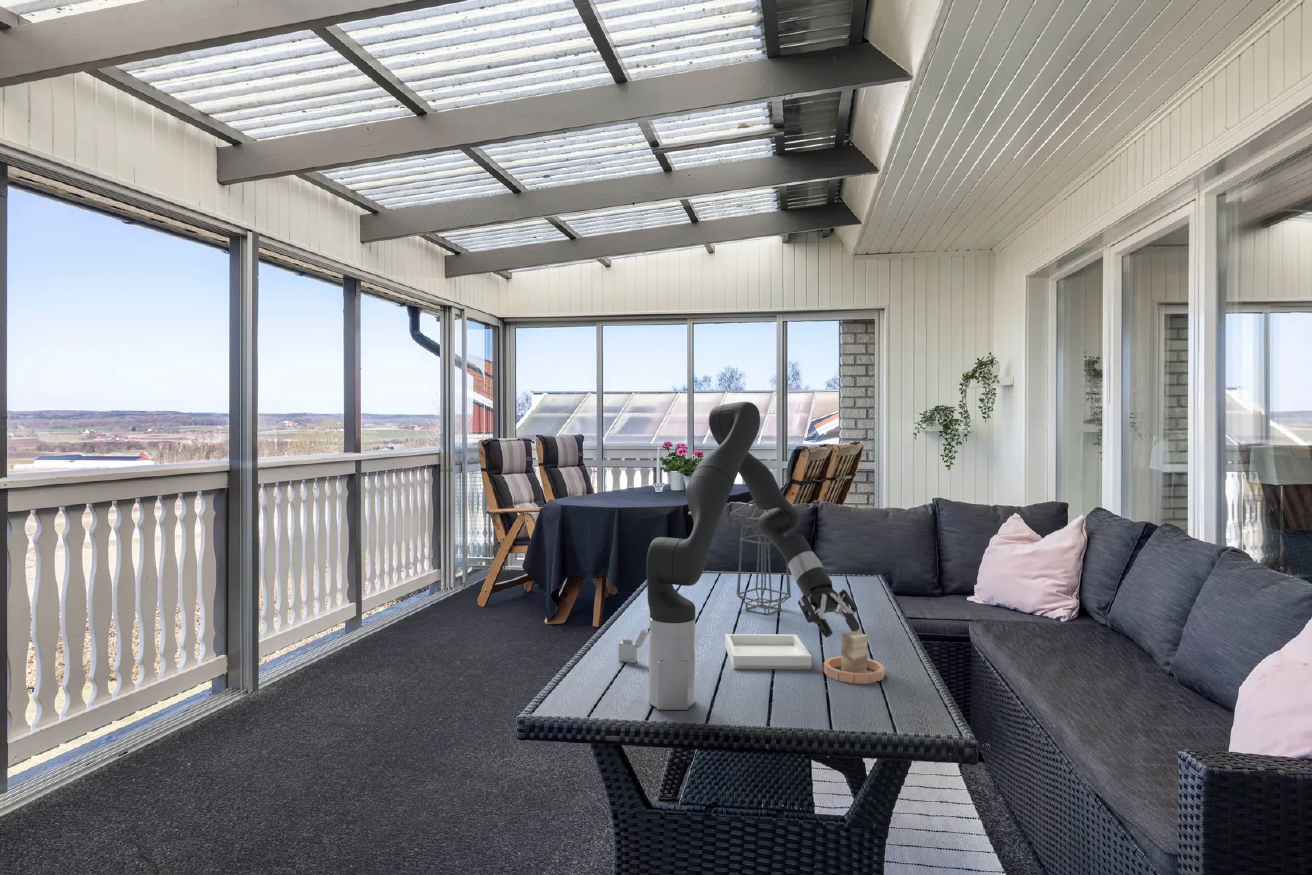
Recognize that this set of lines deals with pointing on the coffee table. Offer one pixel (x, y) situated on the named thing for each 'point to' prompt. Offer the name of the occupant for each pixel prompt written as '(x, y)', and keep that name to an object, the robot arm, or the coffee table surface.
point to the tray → (767, 651)
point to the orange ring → (854, 677)
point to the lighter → (631, 647)
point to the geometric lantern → (736, 515)
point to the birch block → (854, 652)
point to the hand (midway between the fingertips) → (843, 633)
